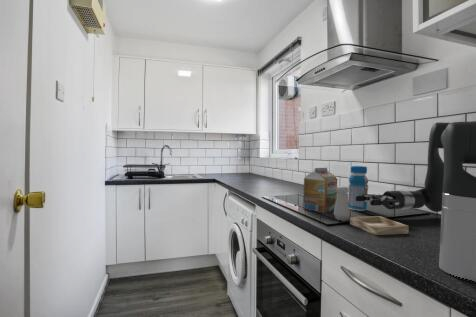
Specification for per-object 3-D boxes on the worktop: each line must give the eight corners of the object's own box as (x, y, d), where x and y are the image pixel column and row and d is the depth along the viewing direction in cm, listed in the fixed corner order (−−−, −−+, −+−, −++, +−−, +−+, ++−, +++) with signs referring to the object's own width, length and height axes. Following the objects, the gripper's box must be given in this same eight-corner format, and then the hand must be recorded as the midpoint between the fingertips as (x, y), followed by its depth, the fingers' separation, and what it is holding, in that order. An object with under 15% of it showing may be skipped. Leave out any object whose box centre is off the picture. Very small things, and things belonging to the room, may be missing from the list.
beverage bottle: (352, 211, 114) (354, 166, 114) (344, 207, 123) (345, 165, 122) (371, 211, 115) (372, 167, 114) (361, 207, 123) (363, 166, 122)
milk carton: (315, 205, 124) (317, 166, 124) (336, 209, 116) (337, 168, 116) (303, 208, 117) (304, 167, 117) (324, 213, 109) (325, 168, 109)
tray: (408, 233, 84) (408, 225, 84) (375, 235, 81) (375, 227, 81) (379, 222, 96) (379, 216, 96) (349, 223, 93) (350, 217, 93)
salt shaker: (350, 222, 96) (352, 187, 95) (334, 221, 97) (336, 186, 96) (347, 218, 101) (348, 185, 101) (332, 217, 102) (333, 185, 102)
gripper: (385, 188, 111) (352, 188, 108) (414, 193, 97) (376, 193, 94) (384, 205, 111) (351, 206, 108) (413, 213, 97) (376, 214, 94)
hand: (363, 200), depth 101 cm, fingers open, 8 cm apart
